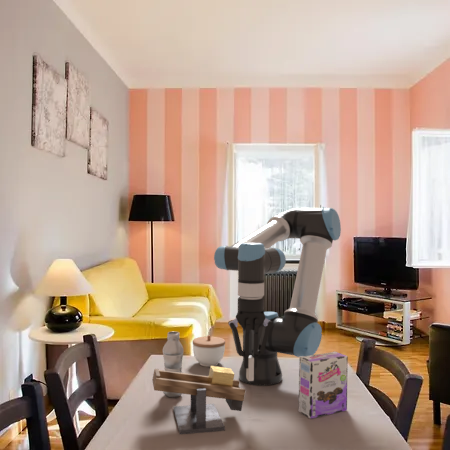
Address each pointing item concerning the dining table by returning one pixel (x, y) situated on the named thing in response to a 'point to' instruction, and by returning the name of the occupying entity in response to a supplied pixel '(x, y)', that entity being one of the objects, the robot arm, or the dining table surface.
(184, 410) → the pivot stand
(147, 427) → the dining table surface
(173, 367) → the plastic bottle
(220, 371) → the block
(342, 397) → the candy box
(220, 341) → the lidded bowl
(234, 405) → the beam
